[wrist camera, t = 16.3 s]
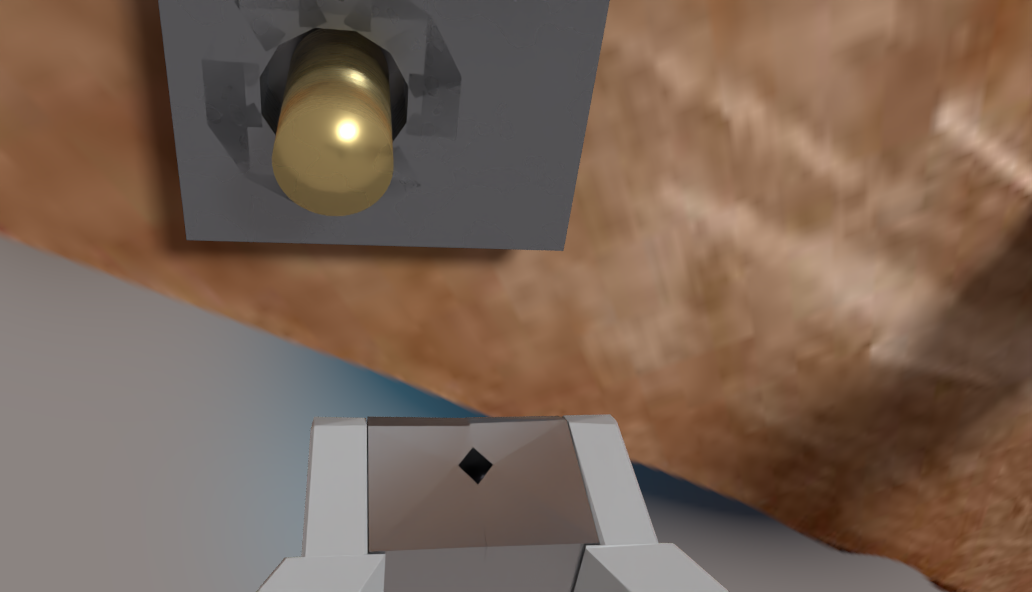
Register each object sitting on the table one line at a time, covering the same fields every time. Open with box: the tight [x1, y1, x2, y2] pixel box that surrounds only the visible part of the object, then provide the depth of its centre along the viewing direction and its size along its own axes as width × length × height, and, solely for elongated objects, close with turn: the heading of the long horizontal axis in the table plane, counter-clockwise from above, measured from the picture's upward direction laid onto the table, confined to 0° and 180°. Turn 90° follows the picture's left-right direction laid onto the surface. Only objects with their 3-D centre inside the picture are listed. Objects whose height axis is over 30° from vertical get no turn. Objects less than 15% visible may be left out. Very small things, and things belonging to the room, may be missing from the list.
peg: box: [272, 28, 394, 216], centre depth 32 cm, size 4×4×8 cm
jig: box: [158, 0, 610, 251], centre depth 34 cm, size 16×13×4 cm
